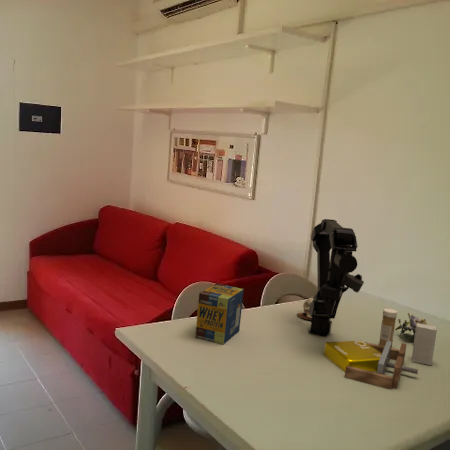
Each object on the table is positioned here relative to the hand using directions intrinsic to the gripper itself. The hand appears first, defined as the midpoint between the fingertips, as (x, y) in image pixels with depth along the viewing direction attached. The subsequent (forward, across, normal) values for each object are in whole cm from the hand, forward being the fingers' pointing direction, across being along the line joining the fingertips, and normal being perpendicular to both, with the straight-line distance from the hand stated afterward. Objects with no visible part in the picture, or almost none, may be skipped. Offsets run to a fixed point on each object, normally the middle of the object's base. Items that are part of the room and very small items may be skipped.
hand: (332, 311), depth 165 cm
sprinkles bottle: (+13, +12, -17) cm, 24 cm away
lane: (+12, -8, -16) cm, 22 cm away
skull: (+13, +28, +13) cm, 33 cm away
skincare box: (+13, +7, -29) cm, 32 cm away
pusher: (+12, -8, -23) cm, 27 cm away
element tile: (+13, -7, -10) cm, 18 cm away
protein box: (+13, -13, +35) cm, 39 cm away
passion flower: (+13, +27, -24) cm, 38 cm away
